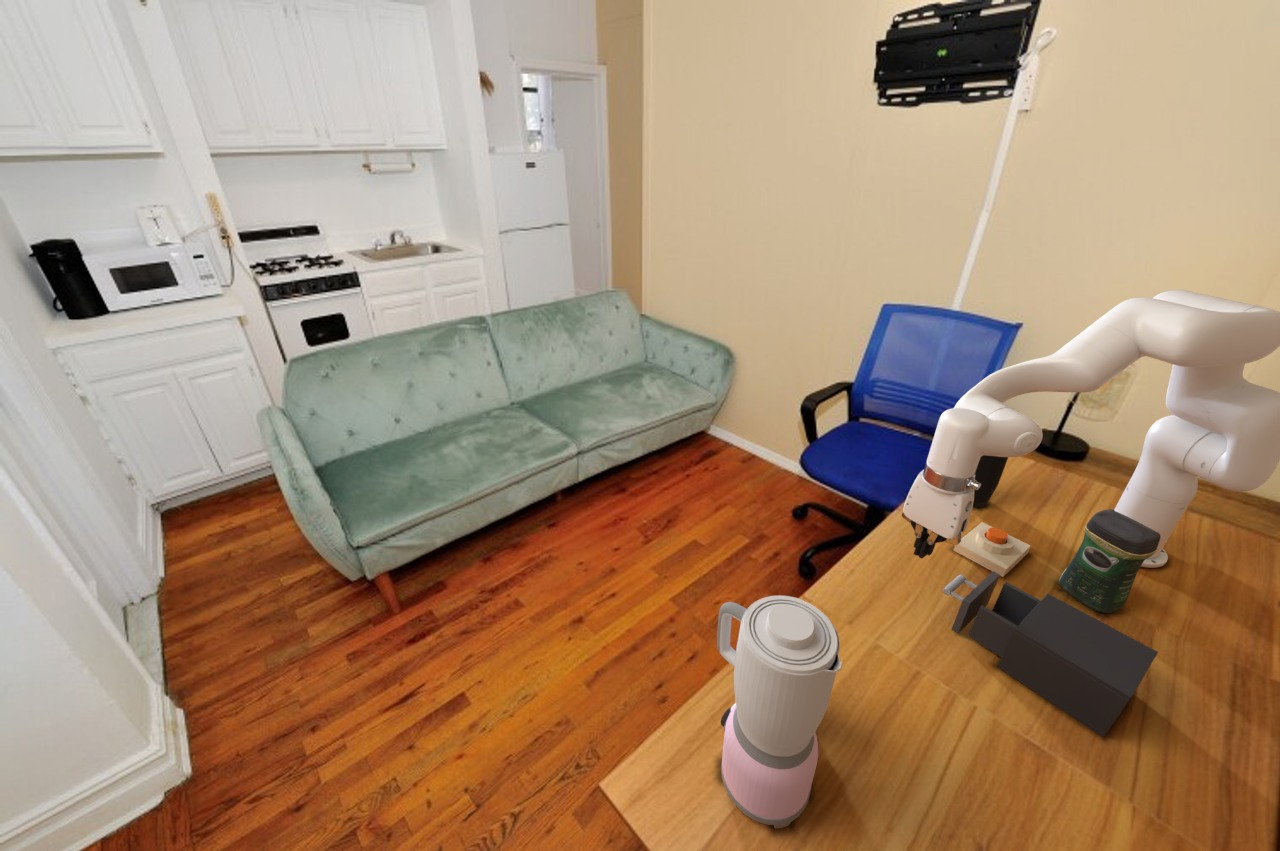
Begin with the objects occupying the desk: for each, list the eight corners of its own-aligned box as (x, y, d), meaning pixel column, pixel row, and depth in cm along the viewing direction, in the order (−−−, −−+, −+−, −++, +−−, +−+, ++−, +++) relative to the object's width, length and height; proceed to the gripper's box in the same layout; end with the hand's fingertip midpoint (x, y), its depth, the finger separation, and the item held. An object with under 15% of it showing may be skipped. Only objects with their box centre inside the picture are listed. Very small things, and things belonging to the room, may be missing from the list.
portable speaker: (940, 490, 131) (961, 424, 122) (975, 488, 131) (998, 422, 122) (961, 511, 123) (986, 441, 114) (998, 508, 124) (1025, 439, 115)
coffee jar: (1129, 608, 96) (1176, 533, 88) (1100, 619, 94) (1145, 543, 85) (1076, 573, 104) (1114, 501, 96) (1049, 583, 102) (1085, 510, 94)
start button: (990, 531, 111) (992, 525, 110) (1008, 540, 109) (1011, 534, 108) (982, 538, 109) (985, 531, 108) (1000, 547, 107) (1003, 540, 106)
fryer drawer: (928, 614, 95) (939, 584, 91) (958, 587, 101) (969, 558, 97) (1035, 685, 82) (1053, 653, 78) (1063, 649, 88) (1081, 618, 84)
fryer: (997, 667, 86) (1015, 628, 81) (1028, 630, 92) (1047, 593, 88) (1103, 737, 75) (1131, 697, 71) (1130, 691, 82) (1158, 651, 77)
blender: (826, 779, 71) (870, 622, 56) (779, 854, 64) (816, 696, 48) (734, 704, 81) (751, 553, 66) (685, 761, 74) (690, 605, 58)
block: (979, 529, 117) (984, 515, 115) (1027, 553, 110) (1034, 539, 108) (953, 550, 111) (958, 536, 109) (1002, 577, 104) (1009, 562, 102)
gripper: (1002, 488, 86) (970, 567, 95) (917, 451, 97) (896, 526, 106) (981, 503, 83) (950, 585, 91) (896, 464, 93) (875, 540, 102)
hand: (921, 553), depth 99 cm, fingers closed
